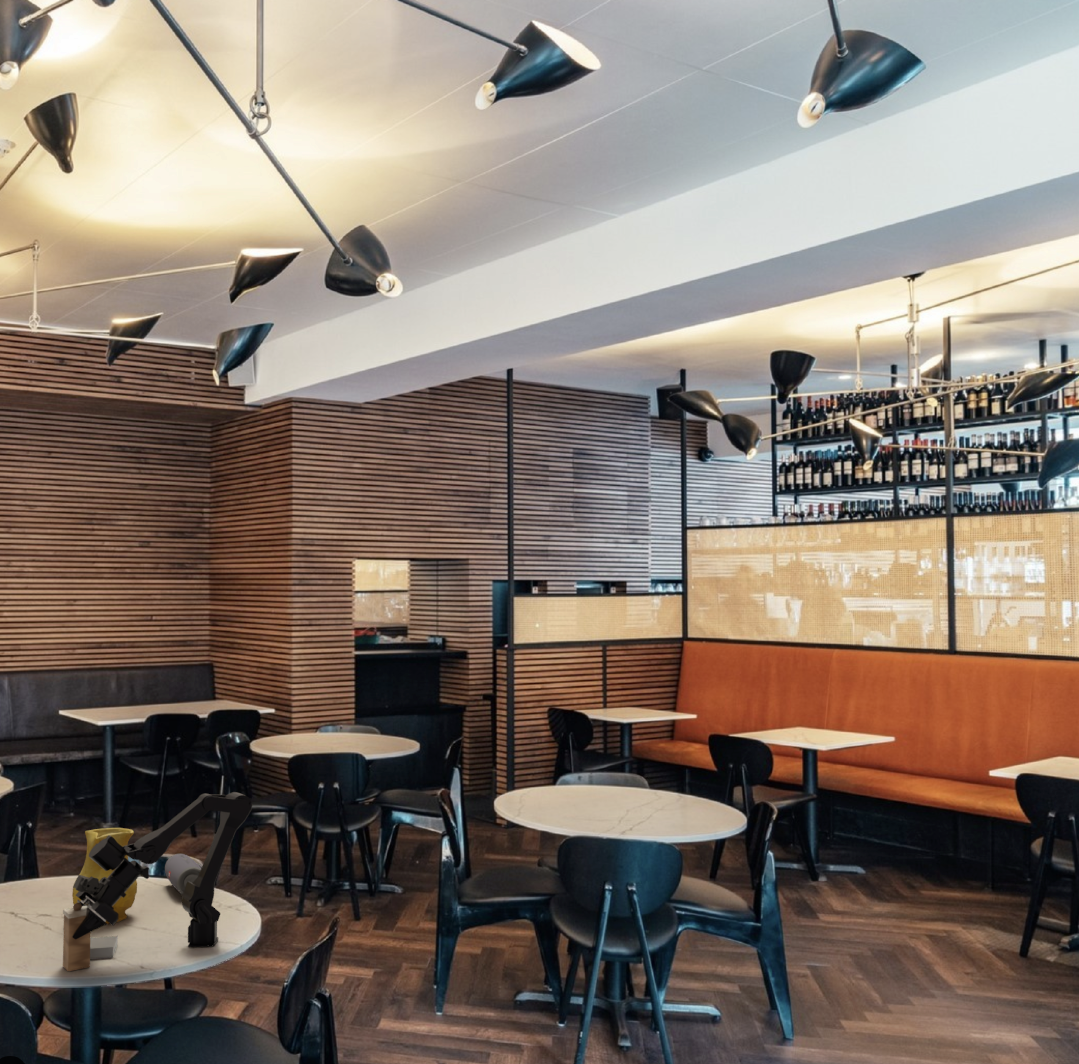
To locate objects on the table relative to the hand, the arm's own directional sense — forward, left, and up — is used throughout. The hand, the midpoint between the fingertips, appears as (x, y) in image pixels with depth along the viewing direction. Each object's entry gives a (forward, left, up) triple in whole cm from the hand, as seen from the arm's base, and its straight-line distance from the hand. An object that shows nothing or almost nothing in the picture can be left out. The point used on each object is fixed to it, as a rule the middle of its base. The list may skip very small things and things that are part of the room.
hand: (70, 935), depth 268 cm
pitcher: (+4, -44, -8) cm, 45 cm away
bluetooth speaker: (-12, -71, -8) cm, 72 cm away
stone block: (-2, -12, -8) cm, 14 cm away
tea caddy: (-1, -1, -8) cm, 8 cm away
